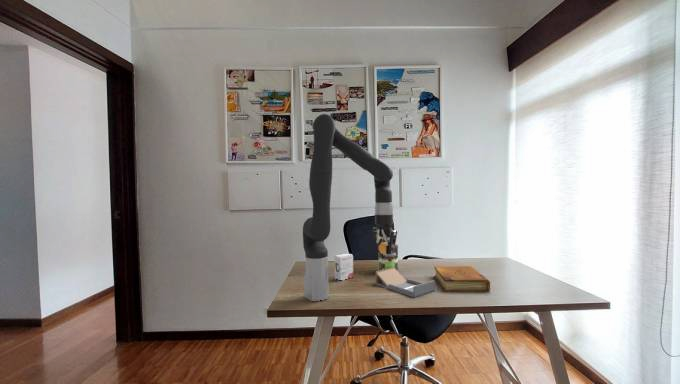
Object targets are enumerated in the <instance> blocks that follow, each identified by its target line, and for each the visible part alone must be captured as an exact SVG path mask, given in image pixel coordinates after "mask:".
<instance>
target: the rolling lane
mask: <svg viewBox="0 0 680 384" xmlns="http://www.w3.org/2000/svg"><path fill="white" fill-rule="evenodd" d="M374 274H375V276H374V277H375V283H374V284H375V285H377V286H378V287H379V286H380V287H383V288H385V289H388V290H391V291H395V292H397V293H399V294H400V293H401V294H403V295H406V296H409V297H411V298H418V297H421V296H424V295H427V294H429V293H433V292H435V290H436V287H435V286H436V282H435V280H430V281H426V282H421V281H417V280H415V279H410V278H406V279H405V278H404V277H403V276H402V274H400V272H399V270H398V271H397V270H396V269H395V267H392V268H388V269H384V270H380V271H379V270H376V271H375V273H374Z"/></svg>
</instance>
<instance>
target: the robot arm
mask: <svg viewBox="0 0 680 384" xmlns="http://www.w3.org/2000/svg"><path fill="white" fill-rule="evenodd" d="M312 131H313V150H312V157H311V162H310V169H309V179H308V180H309V181H308V183H309V184H308V186H309V187H308V188H309V191H310V192H309V193H310V197H311V200H312V217H309V218H307V219H306V220H305V221H304V223H303V225H302V242H303V243H302V244H303V249H304V250H303V251H304V253H305V274H304V275H303V291H304V293H303V295H304V297H305V298H304V297H303V298H304V299H306V298H307V299H306V300H308V299H309V300H308V301H310V302H312V301H313V302H321V301H320V300H322V301H326V300H328V299H329V293H330V291H329V255H328V254H329V251H328V248H327V247H326V245H325V242H324V241H326V240H327V238H328V237H329V236H330V232H331V193H332V184H333V183H332V182H333V155H332V153H333V152H332V151H333V147H334V148H336V149H337V150H339V152H341V153H343V154H344V155H345V156H346V157H347V158H348V159H350V160H351V161H352V162H354V163H355V164H356V165H357V166H359V167H360V168H361V169H362V170H365V171H367V172H368V173H369V174H370V175H372V176H373V181H374V183H373V184H374V191H375V192H374V193H375V194H374V195H375V196H374V199H375V201H374V202H375V205H374V224H375V225H376V226H375V227H372V228H371V232H372V237H373V238H372V239H373V242H376V244H377V245H376V247H377V253H379V252H380V251H379V245H380V244H381V243H382V242H383V241H384V242H386V245H387V246H386V254H387V255H389V254H391V253H392V245H393V244H395V245H396V243H397V242H396V241H397V235H398V230H393V227H392V225H393V224H394V211H393V209H394V206H393V193H392V189H391V181H392V179H393V176H394V173H393V170H392V168H391V167H390V166H389V165H387V164H386V163H385V162H383V161H381V160H380V159H378V158H376V157H375V156H374V155H373V154H372V153H370V152H369V151H368V150H367V149H366V148H364V147H363V146H361V145H360V144H359V143H357V142H354V141H353V140H350V139H349V138H348V137H346V136H345V135H344V134H342V132H340V131H339V130H338V128H337V127H336V122H335V120H334V119H333V117H332V116H331V115H329V114H327V113H326V114H325V113H322V114H320V115H318V116H317V117H315V119H314V120H313V124H312ZM325 299H326V300H325Z"/></svg>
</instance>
